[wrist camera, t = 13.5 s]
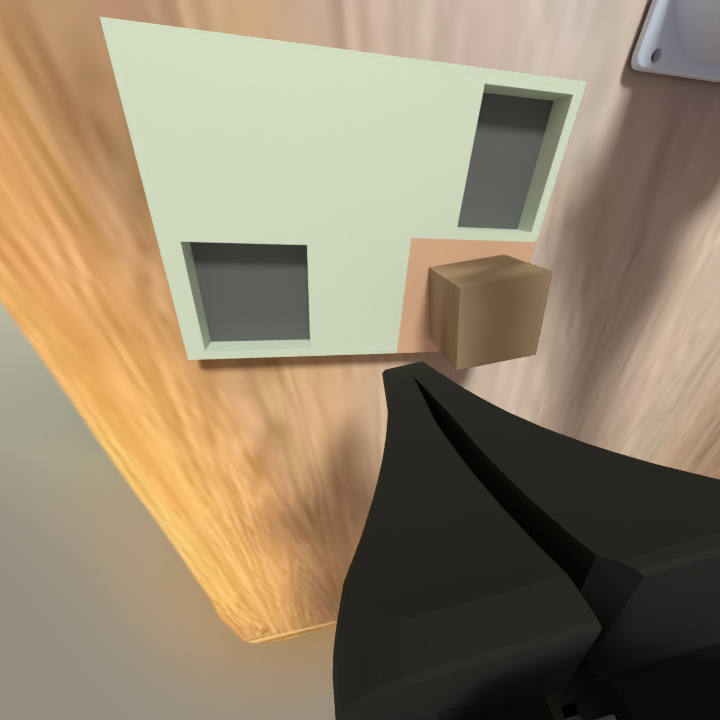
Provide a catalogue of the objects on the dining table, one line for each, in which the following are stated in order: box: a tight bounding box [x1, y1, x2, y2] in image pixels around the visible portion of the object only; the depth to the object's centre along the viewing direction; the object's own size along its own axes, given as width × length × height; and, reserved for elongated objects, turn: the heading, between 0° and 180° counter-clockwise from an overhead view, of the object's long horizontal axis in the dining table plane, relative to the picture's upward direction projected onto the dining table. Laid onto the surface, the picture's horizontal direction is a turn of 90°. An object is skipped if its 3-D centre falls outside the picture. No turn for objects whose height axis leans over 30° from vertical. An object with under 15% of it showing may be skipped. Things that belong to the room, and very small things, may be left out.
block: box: [429, 254, 552, 370], centre depth 17 cm, size 4×4×4 cm
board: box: [100, 17, 587, 360], centre depth 17 cm, size 20×14×2 cm
